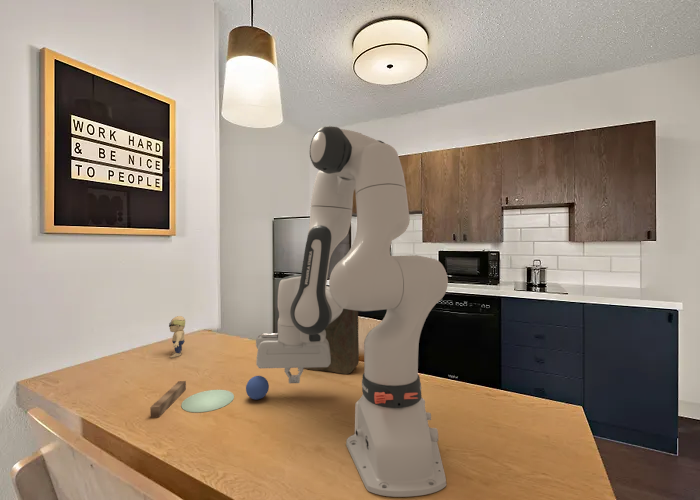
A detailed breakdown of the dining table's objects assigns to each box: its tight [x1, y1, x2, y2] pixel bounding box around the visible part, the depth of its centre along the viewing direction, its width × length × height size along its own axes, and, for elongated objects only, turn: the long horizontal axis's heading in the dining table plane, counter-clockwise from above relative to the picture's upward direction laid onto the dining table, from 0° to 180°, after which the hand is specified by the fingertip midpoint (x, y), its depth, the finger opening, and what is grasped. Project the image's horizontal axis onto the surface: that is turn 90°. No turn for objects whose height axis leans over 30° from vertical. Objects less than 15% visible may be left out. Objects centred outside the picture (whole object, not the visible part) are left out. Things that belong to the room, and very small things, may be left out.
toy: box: [168, 315, 186, 358], centre depth 130 cm, size 13×6×15 cm, turn 17°
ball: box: [245, 375, 270, 401], centre depth 92 cm, size 6×6×6 cm
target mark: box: [180, 389, 235, 413], centre depth 91 cm, size 13×13×1 cm
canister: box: [305, 309, 360, 375], centre depth 114 cm, size 19×8×25 cm, turn 70°
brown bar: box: [149, 380, 187, 418], centre depth 90 cm, size 16×2×2 cm, turn 4°
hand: (294, 382), depth 94 cm, fingers closed
